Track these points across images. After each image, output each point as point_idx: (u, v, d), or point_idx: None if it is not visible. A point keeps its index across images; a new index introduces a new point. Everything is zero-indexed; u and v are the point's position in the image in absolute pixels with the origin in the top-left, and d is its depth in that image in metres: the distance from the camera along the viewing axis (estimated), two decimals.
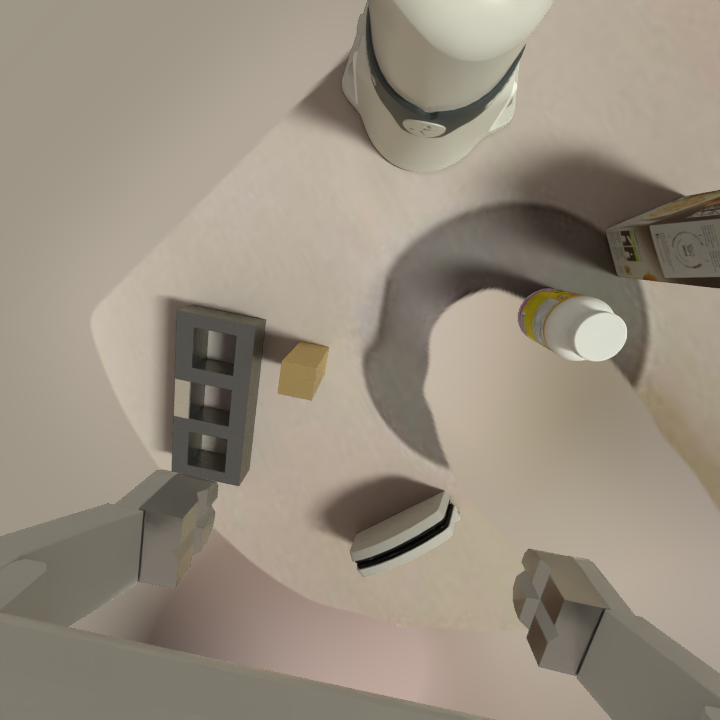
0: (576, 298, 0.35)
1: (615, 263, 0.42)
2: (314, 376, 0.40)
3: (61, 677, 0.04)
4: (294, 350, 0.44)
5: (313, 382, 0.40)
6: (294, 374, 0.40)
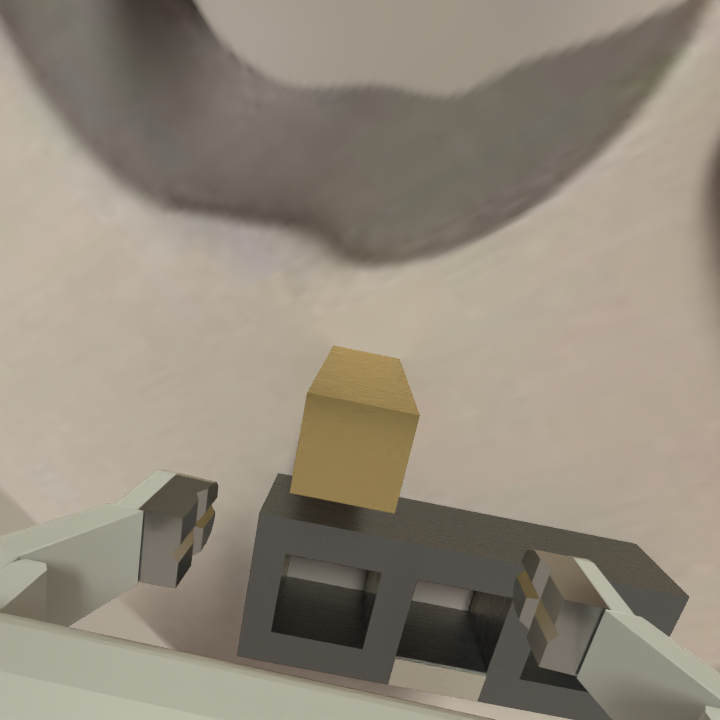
0: None
1: None
2: (335, 401, 0.12)
3: (61, 678, 0.04)
4: None
5: (356, 405, 0.12)
6: (332, 459, 0.13)
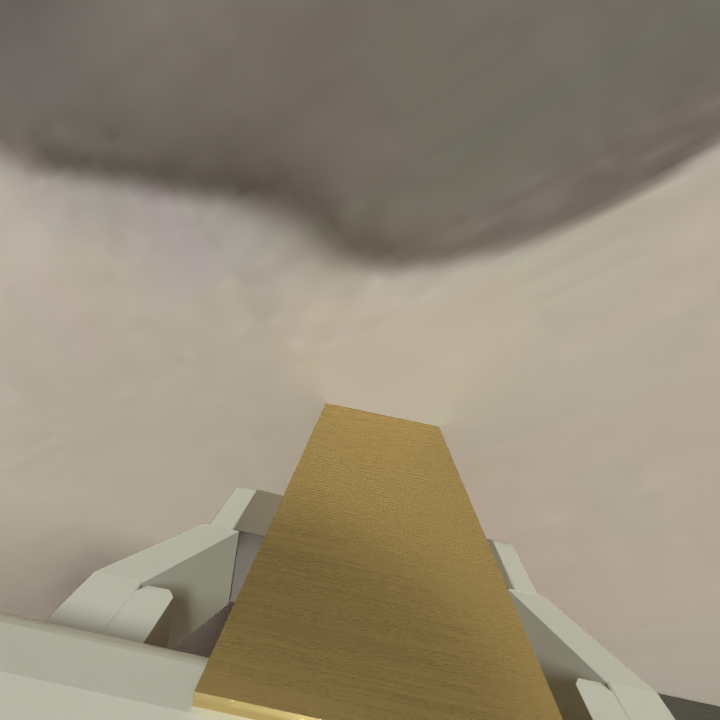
0: None
1: None
2: (292, 718, 0.04)
3: (62, 678, 0.04)
4: None
5: None
6: None
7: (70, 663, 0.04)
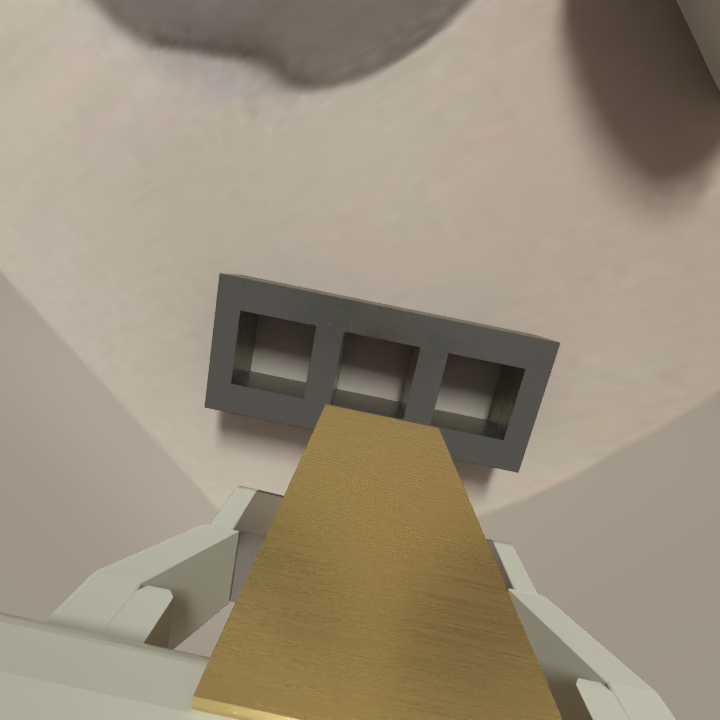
0: None
1: None
2: None
3: (62, 677, 0.04)
4: None
5: None
6: None
7: (70, 663, 0.04)
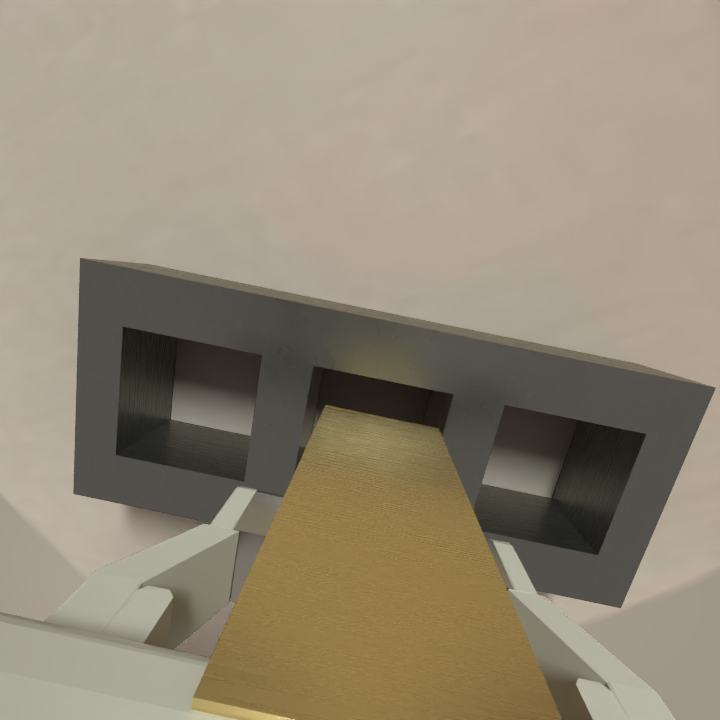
0: None
1: None
2: None
3: (61, 677, 0.04)
4: None
5: None
6: None
7: (70, 663, 0.04)
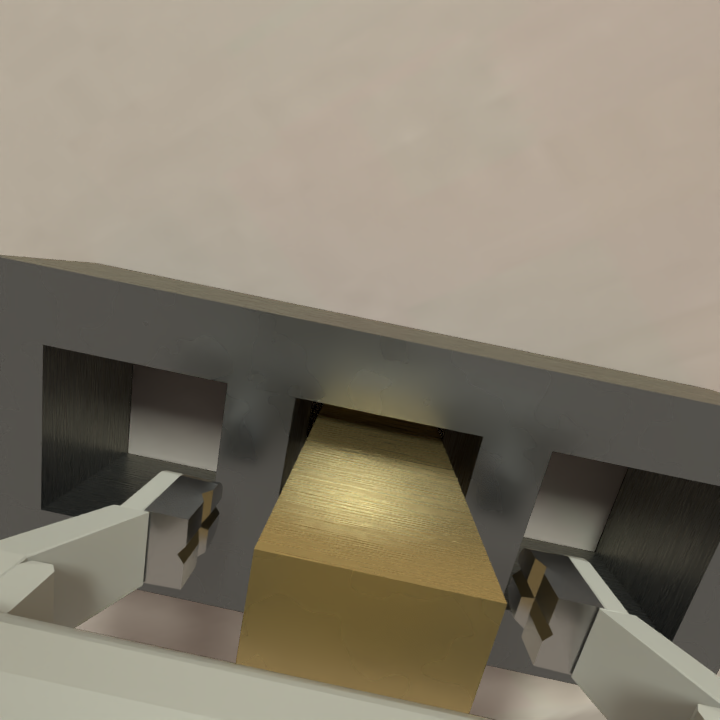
0: None
1: None
2: (317, 567, 0.06)
3: (60, 678, 0.04)
4: None
5: (363, 578, 0.06)
6: None
7: (70, 662, 0.04)
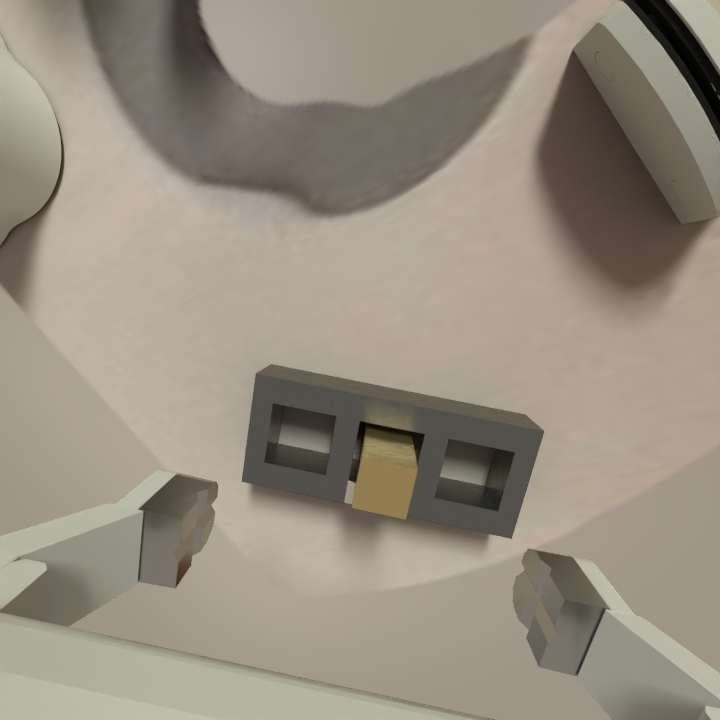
0: None
1: None
2: (375, 461, 0.25)
3: (60, 678, 0.04)
4: (357, 472, 0.30)
5: (385, 464, 0.25)
6: (373, 491, 0.25)
7: (70, 663, 0.04)
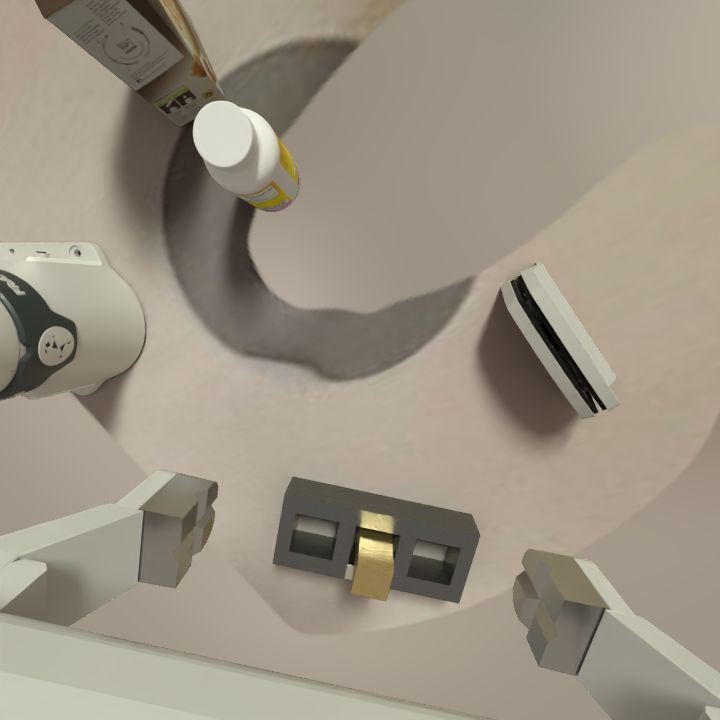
0: None
1: None
2: (366, 566, 0.39)
3: (62, 677, 0.04)
4: (354, 560, 0.44)
5: (373, 567, 0.39)
6: (365, 583, 0.39)
7: (70, 662, 0.04)
